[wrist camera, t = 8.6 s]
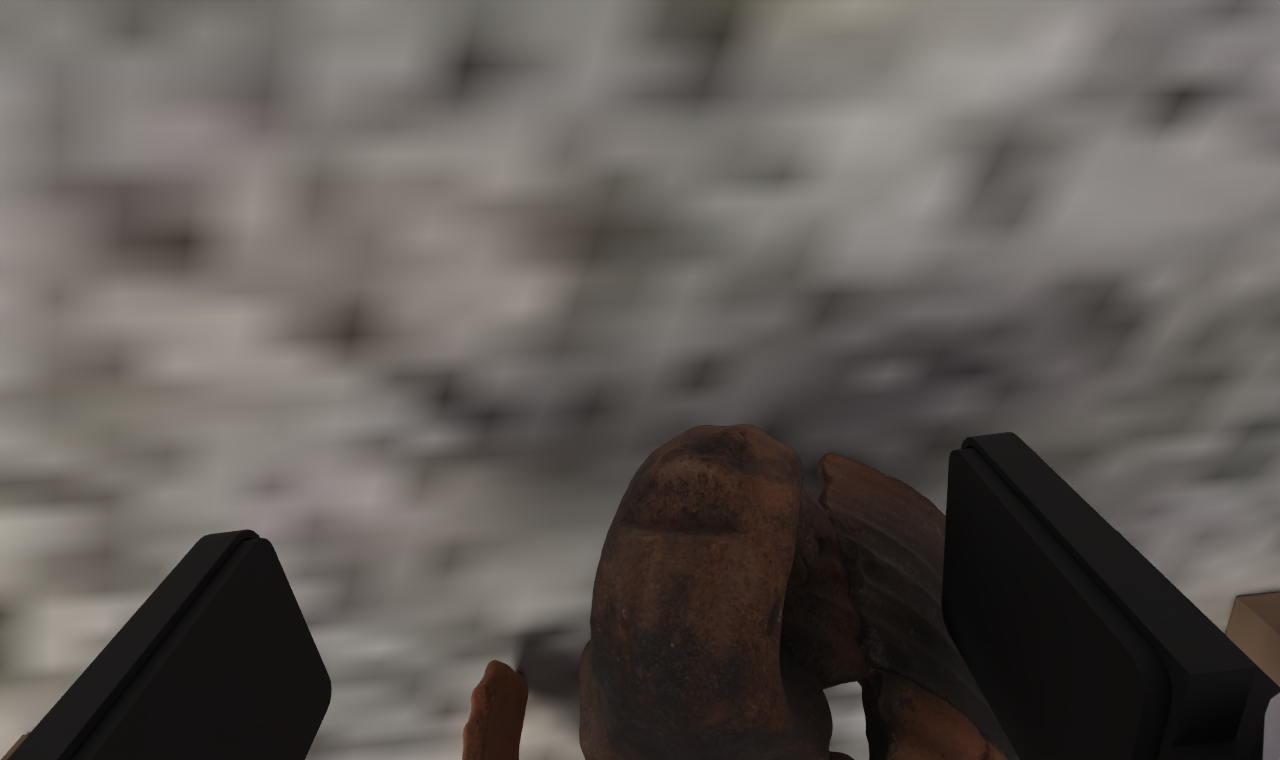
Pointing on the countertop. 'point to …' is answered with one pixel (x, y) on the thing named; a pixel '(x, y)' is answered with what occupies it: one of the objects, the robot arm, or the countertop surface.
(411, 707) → the countertop surface
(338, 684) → the countertop surface
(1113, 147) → the countertop surface
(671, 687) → the pottery mug
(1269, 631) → the wooden u-shaped frame
